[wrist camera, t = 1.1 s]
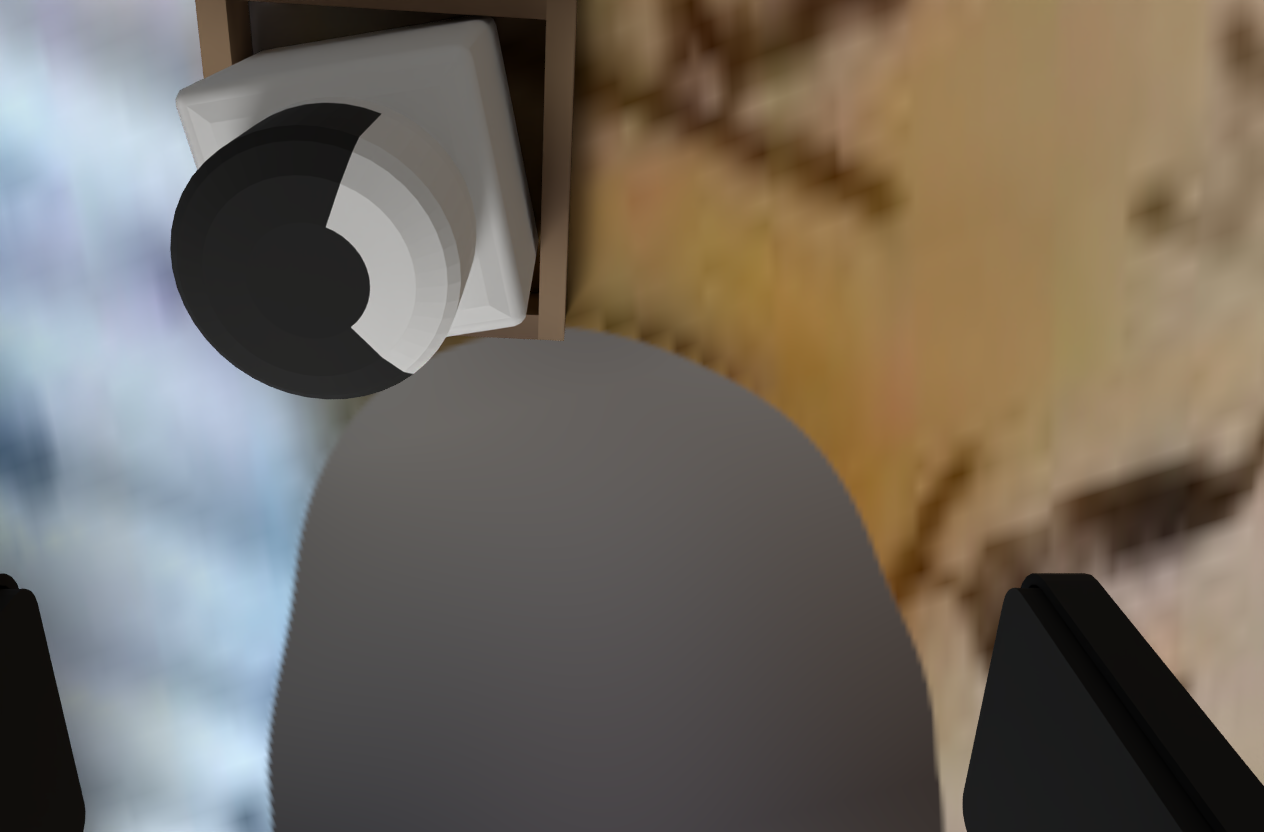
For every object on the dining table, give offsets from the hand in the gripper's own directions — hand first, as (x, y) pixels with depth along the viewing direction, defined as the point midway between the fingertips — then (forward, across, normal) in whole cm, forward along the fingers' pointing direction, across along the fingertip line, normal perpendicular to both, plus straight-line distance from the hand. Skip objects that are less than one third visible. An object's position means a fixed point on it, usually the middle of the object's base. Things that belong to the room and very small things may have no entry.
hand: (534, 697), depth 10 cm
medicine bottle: (+25, +5, 0) cm, 26 cm away
